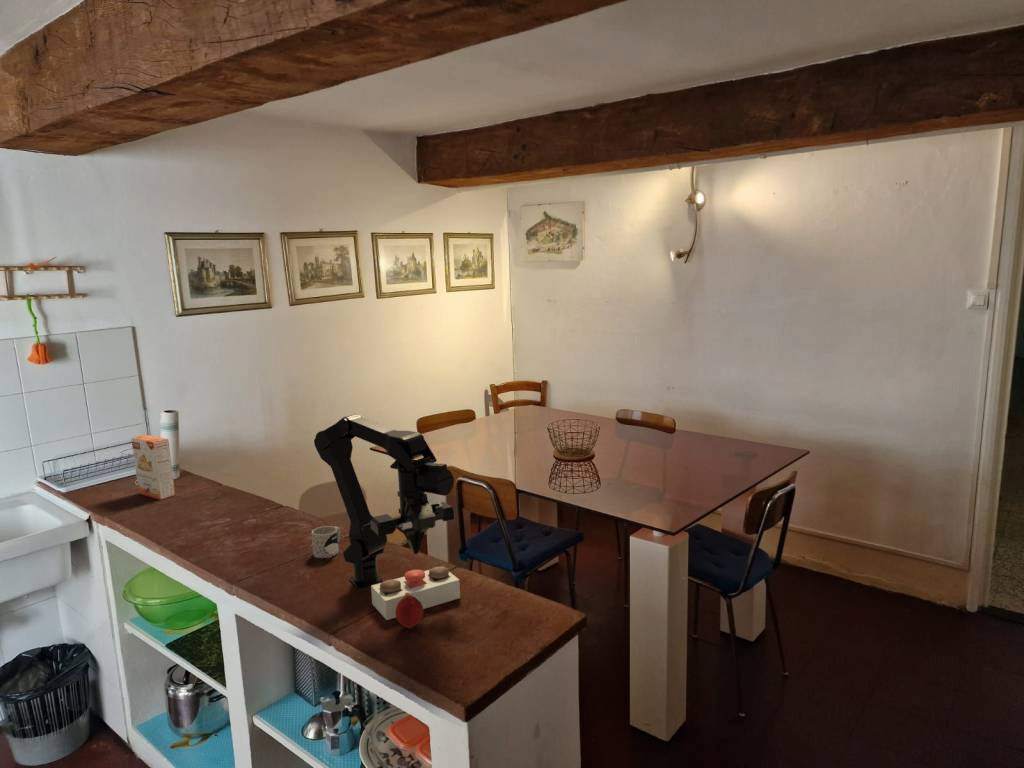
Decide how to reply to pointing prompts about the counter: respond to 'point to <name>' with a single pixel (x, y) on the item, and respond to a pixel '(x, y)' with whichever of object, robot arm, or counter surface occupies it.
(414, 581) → the red plunger
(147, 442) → the cracker box
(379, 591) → the jig
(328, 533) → the mug
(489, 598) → the counter surface
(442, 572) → the walnut plunger far
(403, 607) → the onion
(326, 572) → the counter surface
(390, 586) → the walnut plunger near
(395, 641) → the counter surface
